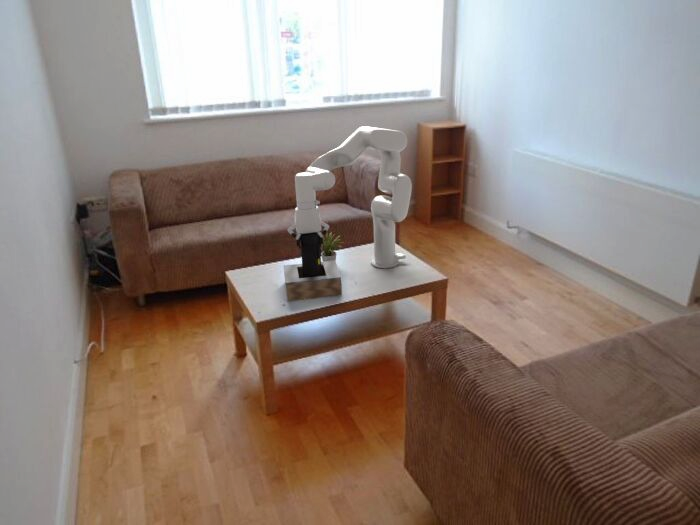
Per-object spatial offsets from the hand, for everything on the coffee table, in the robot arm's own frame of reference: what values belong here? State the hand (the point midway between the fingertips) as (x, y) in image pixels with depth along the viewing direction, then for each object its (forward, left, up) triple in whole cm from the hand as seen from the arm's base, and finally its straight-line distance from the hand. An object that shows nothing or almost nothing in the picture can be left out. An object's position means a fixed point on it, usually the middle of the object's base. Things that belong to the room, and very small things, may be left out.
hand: (309, 246), depth 209 cm
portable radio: (0, 0, -17) cm, 17 cm away
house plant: (-9, -21, -19) cm, 30 cm away
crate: (0, 0, -19) cm, 19 cm away
